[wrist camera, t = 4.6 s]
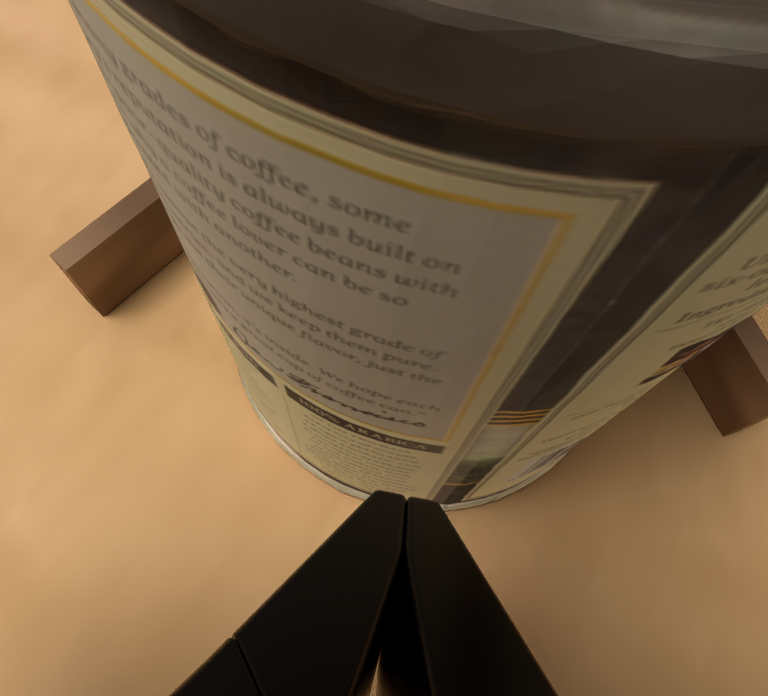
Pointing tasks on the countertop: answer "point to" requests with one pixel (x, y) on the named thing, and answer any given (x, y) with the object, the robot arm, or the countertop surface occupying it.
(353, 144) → the coffee can
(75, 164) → the countertop surface
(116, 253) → the walnut keeper
